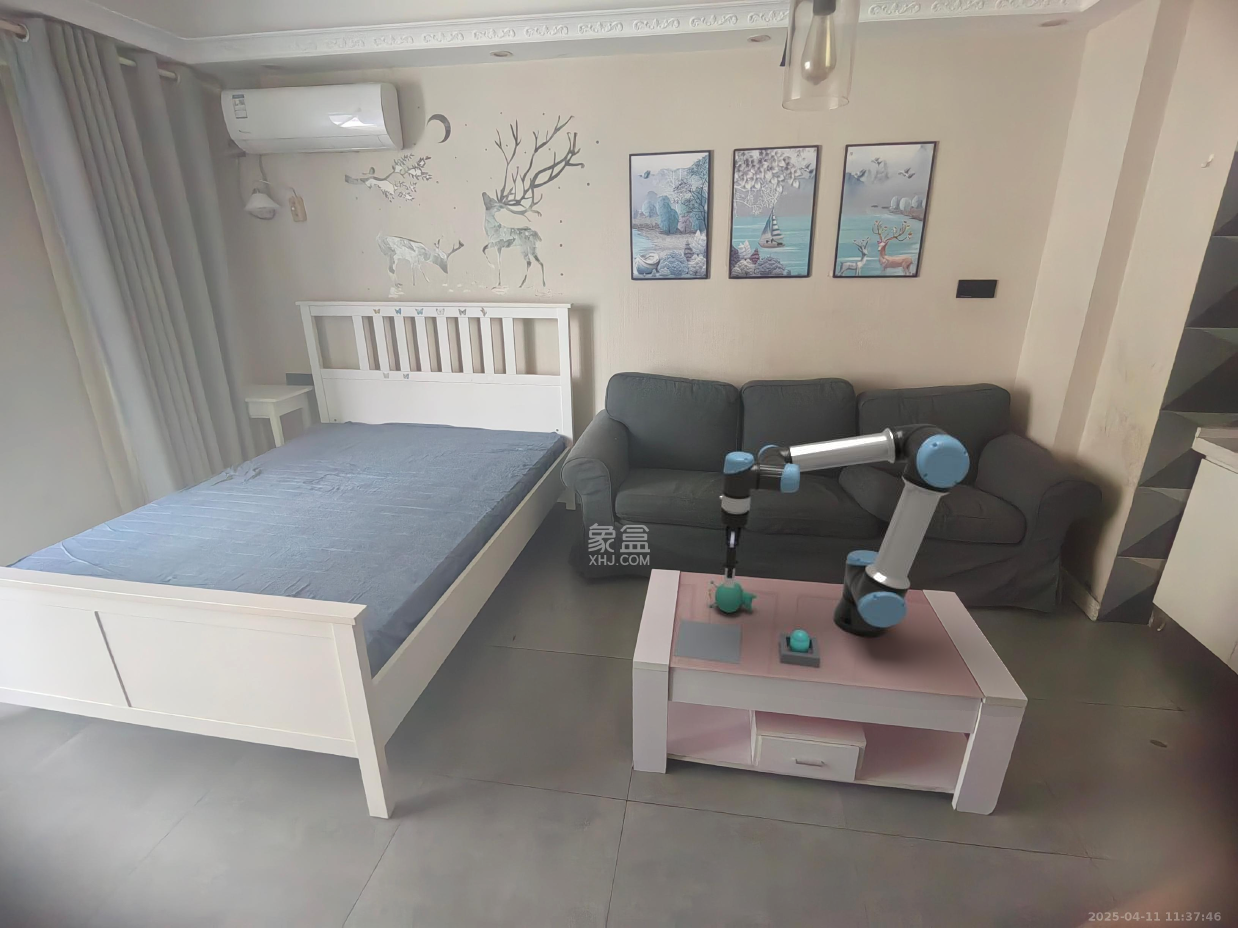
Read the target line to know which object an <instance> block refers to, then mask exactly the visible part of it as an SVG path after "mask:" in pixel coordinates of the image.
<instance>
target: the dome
mask: <svg viewBox="0 0 1238 928" xmlns="http://www.w3.org/2000/svg"><path fill="white" fill-rule="evenodd" d="M790 634H791V640H790V646H789V652H798V653H806V654H809V649H810V648H809V641H810V638H809V636H810V635H809V634H808V633H807V632H806V631H805V630H802V629H796V630H794V631H793V633H790Z"/></svg>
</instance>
